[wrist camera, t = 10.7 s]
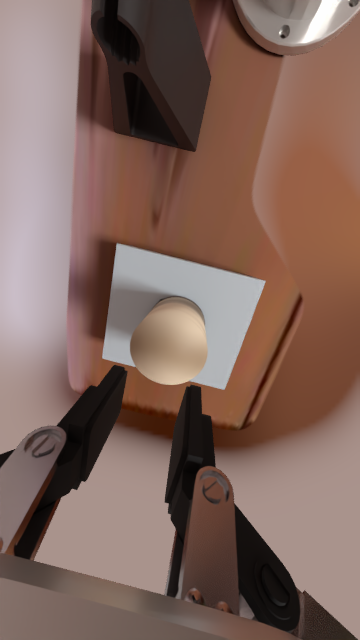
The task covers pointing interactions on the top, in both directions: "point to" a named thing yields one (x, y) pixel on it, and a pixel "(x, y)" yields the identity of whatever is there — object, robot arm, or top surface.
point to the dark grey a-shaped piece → (153, 69)
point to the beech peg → (170, 341)
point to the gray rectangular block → (187, 281)
